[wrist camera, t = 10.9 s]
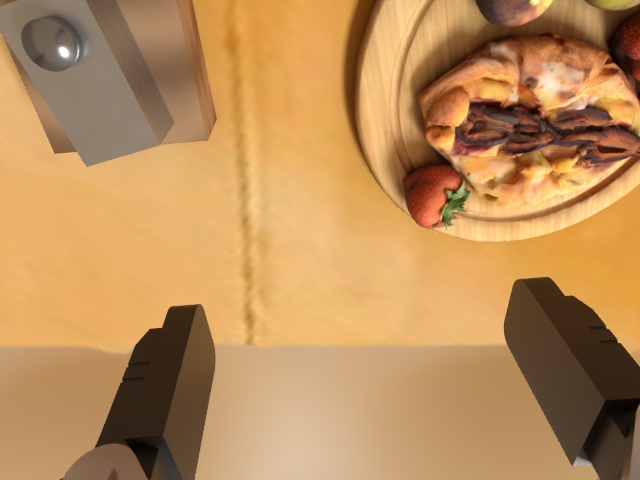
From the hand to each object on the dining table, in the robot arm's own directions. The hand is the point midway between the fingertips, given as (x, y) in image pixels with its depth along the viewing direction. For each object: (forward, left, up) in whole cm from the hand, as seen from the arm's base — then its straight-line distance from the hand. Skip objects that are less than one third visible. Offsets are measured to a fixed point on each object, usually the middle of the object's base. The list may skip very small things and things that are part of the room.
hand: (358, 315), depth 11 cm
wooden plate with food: (+3, +19, -31) cm, 36 cm away
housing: (-2, -15, -25) cm, 29 cm away
